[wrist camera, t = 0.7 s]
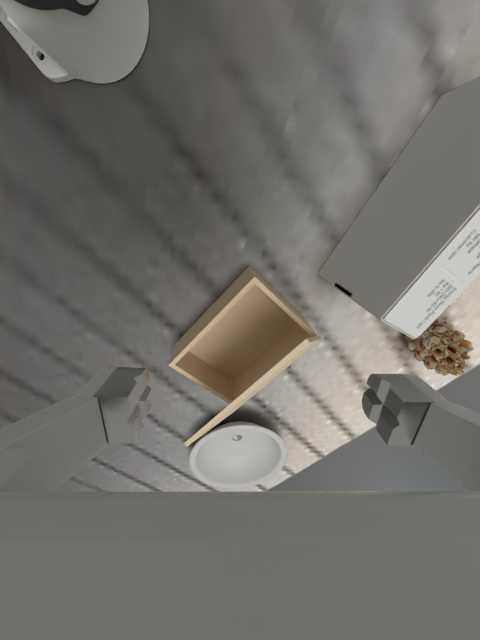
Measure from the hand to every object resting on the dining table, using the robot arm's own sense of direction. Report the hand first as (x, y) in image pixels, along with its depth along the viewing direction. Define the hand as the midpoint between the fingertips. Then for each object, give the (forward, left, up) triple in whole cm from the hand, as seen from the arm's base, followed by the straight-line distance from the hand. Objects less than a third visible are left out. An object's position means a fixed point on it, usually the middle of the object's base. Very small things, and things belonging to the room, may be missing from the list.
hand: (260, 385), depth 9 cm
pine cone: (+42, +15, -37) cm, 57 cm away
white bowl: (+36, -35, -37) cm, 62 cm away
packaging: (+16, +23, -37) cm, 46 cm away
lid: (+16, -11, -22) cm, 30 cm away
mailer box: (+14, -11, -36) cm, 40 cm away
